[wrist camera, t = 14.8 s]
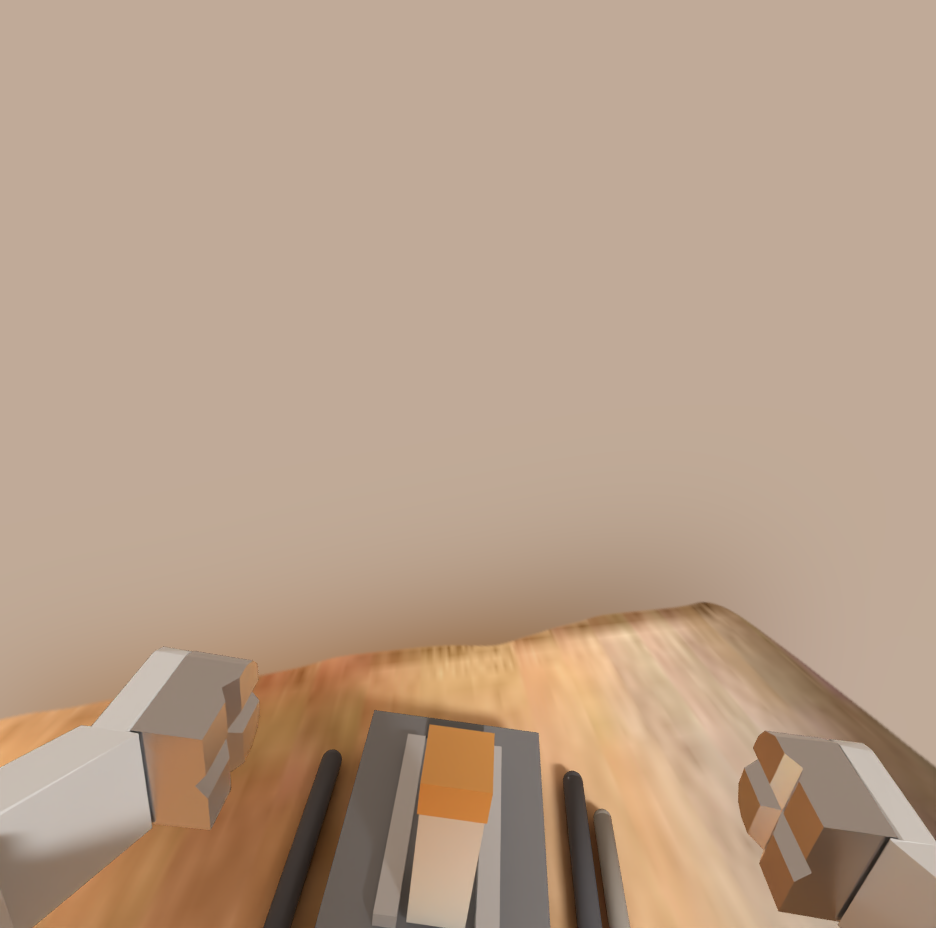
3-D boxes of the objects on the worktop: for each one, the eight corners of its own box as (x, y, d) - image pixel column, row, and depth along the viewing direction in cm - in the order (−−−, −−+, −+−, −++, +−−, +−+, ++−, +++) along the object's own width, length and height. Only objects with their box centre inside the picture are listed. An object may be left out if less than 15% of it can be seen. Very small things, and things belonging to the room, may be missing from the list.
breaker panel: (371, 749, 43) (375, 699, 41) (529, 771, 43) (540, 722, 41) (301, 1022, 28) (301, 965, 26) (541, 1057, 28) (559, 1002, 26)
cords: (328, 746, 43) (329, 732, 42) (602, 784, 43) (606, 771, 42) (236, 1014, 28) (235, 999, 28) (651, 1075, 28) (658, 1060, 27)
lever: (413, 859, 32) (429, 724, 28) (470, 867, 32) (494, 733, 28) (403, 924, 29) (420, 783, 25) (466, 933, 29) (492, 793, 25)
